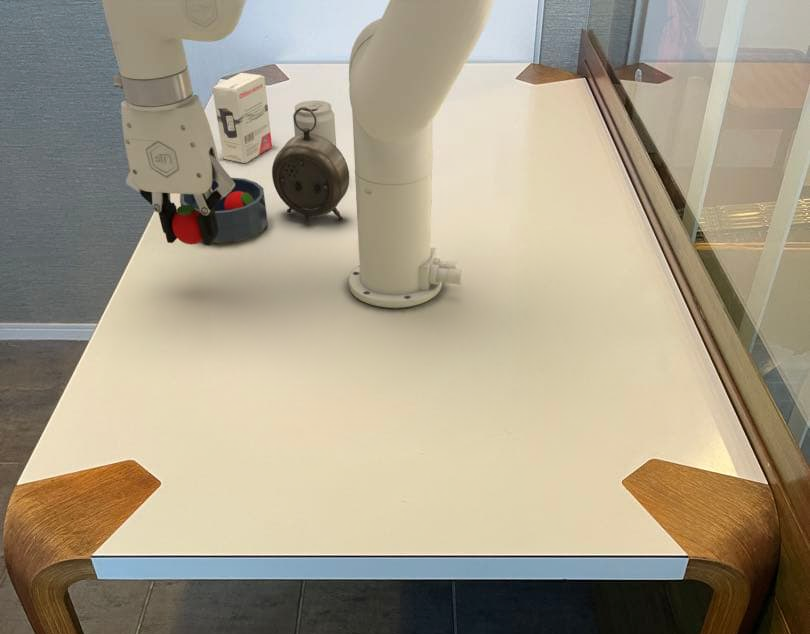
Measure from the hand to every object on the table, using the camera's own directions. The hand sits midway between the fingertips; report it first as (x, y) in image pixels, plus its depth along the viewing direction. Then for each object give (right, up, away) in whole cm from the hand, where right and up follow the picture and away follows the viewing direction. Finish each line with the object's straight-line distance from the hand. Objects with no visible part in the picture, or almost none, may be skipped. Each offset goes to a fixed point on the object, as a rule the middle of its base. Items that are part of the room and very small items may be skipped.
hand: (192, 238), depth 111 cm
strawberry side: (0, 0, 0) cm, 1 cm away
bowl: (+1, +8, +19) cm, 21 cm away
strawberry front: (+1, +10, +19) cm, 21 cm away
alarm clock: (+13, +10, +20) cm, 26 cm away
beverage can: (+13, +19, +30) cm, 38 cm away
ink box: (0, +29, +39) cm, 49 cm away
